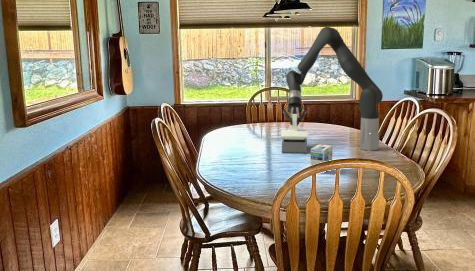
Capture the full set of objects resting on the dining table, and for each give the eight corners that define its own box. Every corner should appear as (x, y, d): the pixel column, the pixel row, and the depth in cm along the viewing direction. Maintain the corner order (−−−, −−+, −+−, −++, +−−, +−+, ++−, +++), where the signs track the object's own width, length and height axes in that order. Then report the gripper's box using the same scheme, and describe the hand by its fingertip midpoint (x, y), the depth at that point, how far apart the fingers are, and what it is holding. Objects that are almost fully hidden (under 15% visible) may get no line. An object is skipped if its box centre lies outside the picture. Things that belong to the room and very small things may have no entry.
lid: (308, 140, 224) (308, 119, 222) (280, 140, 226) (281, 119, 224) (307, 133, 243) (307, 113, 241) (282, 133, 245) (282, 113, 242)
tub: (306, 153, 226) (306, 142, 225) (281, 153, 228) (281, 142, 227) (305, 146, 244) (306, 135, 243) (282, 145, 245) (282, 135, 244)
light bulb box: (324, 174, 190) (324, 150, 188) (309, 171, 194) (310, 148, 191) (332, 168, 199) (333, 145, 197) (318, 166, 202) (319, 143, 200)
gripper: (282, 95, 246) (281, 120, 236) (307, 95, 244) (307, 120, 234) (282, 104, 252) (282, 128, 243) (306, 104, 250) (307, 128, 241)
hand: (294, 124), depth 239 cm, fingers closed on lid, 2 cm apart
